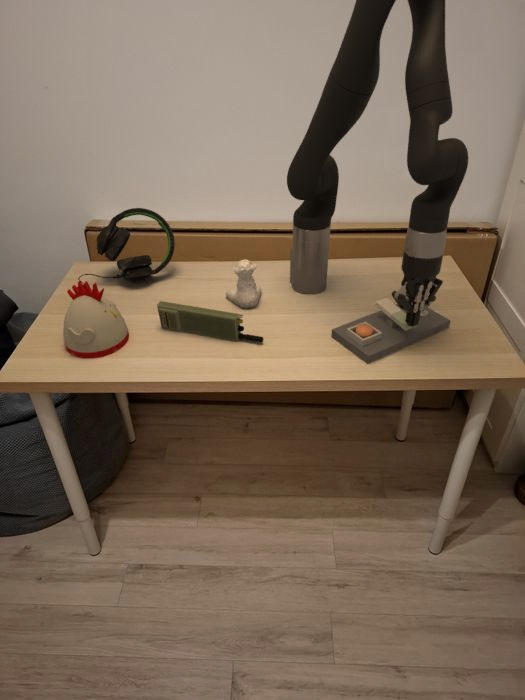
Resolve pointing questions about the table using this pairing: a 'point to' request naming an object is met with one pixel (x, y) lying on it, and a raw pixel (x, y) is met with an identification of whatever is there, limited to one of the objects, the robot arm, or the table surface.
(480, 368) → the table surface
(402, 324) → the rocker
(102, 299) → the kitchen timer
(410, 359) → the table surface
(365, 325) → the button
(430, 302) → the lever
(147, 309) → the table surface
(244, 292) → the sitting furry creature
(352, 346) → the panel
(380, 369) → the table surface
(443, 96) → the robot arm
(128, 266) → the headset
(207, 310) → the handheld radio
